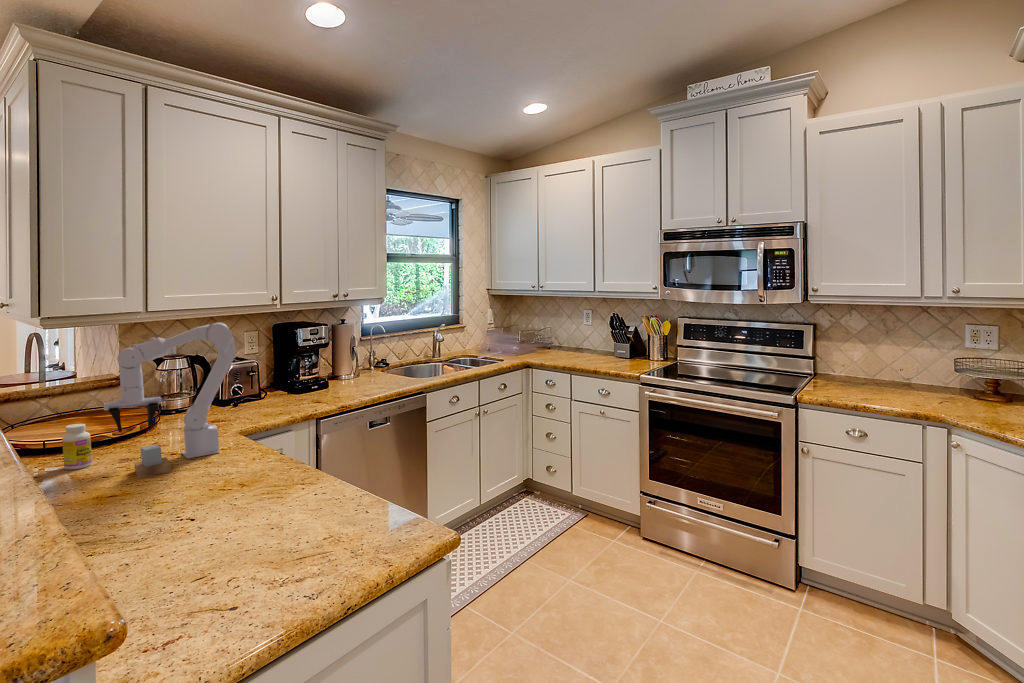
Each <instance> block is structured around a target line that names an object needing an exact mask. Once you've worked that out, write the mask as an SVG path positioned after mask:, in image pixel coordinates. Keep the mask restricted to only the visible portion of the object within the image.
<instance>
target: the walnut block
mask: <svg viewBox="0 0 1024 683" xmlns="http://www.w3.org/2000/svg"><path fill="white" fill-rule="evenodd" d="M161 458H162V464H158V465H153V466H149V467H145V466H144V465H143V464H142V461H138V462H137V461H136V462H134V472H135V474H136V475H137V477H138V479H139V480H141V479H144V478H149V477H153V476H154V477H155V476H160V475H165V474H169V473H172V463H171V461H169V459H168V458H167V457H166V456H165V457H161Z"/></svg>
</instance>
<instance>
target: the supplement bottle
mask: <svg viewBox="0 0 1024 683" xmlns="http://www.w3.org/2000/svg"><path fill="white" fill-rule="evenodd" d="M86 426H87V425H86V424H85V423H74V424H69V425H66V426H65V432H66V434H64V435H63V436H62V438H61V441H62V443H61V444H62V455H63V465H64V467H63V468H65V470H71V471H72V470H80V469H84V468H87V467H90V466H91V465H92V464H93V455H92V454H93V453H92V441H91V440H92V439H91V438H92V437H91V433H89V432H88V431H86V429H87V428H86Z"/></svg>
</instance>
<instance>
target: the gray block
mask: <svg viewBox="0 0 1024 683" xmlns="http://www.w3.org/2000/svg"><path fill="white" fill-rule="evenodd" d="M161 447H162V446H159V445H158V444H153V445H152V444H151V445H149V446H148V445H147V446H142V447H140V457H141V462H142V464H143V465H144V466H145V467H149V466H153V465H158V464H162V458H163V457H162V448H161Z"/></svg>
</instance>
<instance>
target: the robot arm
mask: <svg viewBox="0 0 1024 683" xmlns="http://www.w3.org/2000/svg"><path fill="white" fill-rule="evenodd" d="M233 336H234V335H233V333H232V331H231V329H230V328H229V325H227V324H226V323H224V322H222V321H221V322H220V321H218V322H214V323H212V324H205V325H201V326H196V327H194V328H192V329H189V330H187V331H183V332H182V333H178V334H176V335H174V336H171V337H168V338H163V337H156V338H155V336H153V337H150V338H149V340H147V341H145V342H142V343H139V344H137V343H134V344H132V347H126V348H125V349H122V350H121V351H120V352H119V353H118V354H117V359H116V360H117V363H118V364H119V382H120V395H121V396H120V397H121V400H115V401H109V402H104V403H103V410H104V411H108V413H109V414H110V415H111V416H112V418H113V420H114V422H115V424H116V427H117V431H118V433H122V431H123V429H122V424H121V411H120V409H124V408H133V407H139V406H140V407H141V406H146V410H147V411H146V412H147V427H148V428H150V429H151V428H153V422H154V419H155V415H156V412H157V411H158V409H159V405H160V404H163V403H162V397H161V396H155V397H154V396H153V397H145V391H144V390H145V389H144V377H143V376H144V375H143V370H142V362H144V363H145V362H148V361H149V362H150V361H152V360H155V359H156V358H160V357H162V356H166V355H168V354H169V351H170V349H173V348H175V347H178V346H181V345H184V344H187V343H190V342H193V341H197V340H199V341H208V340H209V341H210V342H211V343H212V344H214V346H215V347H216V350H217V351H218V356H217V358H216V360H215V362H214V363H213V366H212V368H211V370H210V372H209V374H208V375H207V378H206V380H205V381H204V383H203V386H202V388H201V390H200V391H199V393H198V396H197V397H196V399H195V400H194V402H193V404H192V405H191V406H190V407H188V408H187V409H186V411H185V415H184V417H183V423H184V426H183V439H184V450H183V451H181V453H182V455H183V456H184V457H185V458H186V459H193V458H197V457H202V456H203V457H204V456H208V455H214V454H219V453H220V446H219V445H220V444H219V431H218V427H217V425H216V424H211V425H210V423H208V421H207V419H208V418H207V417H208V412H209V410H210V408H211V405H212V402H213V401H214V399H215V396H216V395H217V393H218V391H219V390H220V387H221V385H222V383H223V381H224V379H225V377H226V375H227V374H228V371H229V369H230V368H231V366H232V363H233V362H234V361H235V360H234V359H235V357H236V355H237V350H236V349H237V348H236V346H235V340H234V337H233Z"/></svg>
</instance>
